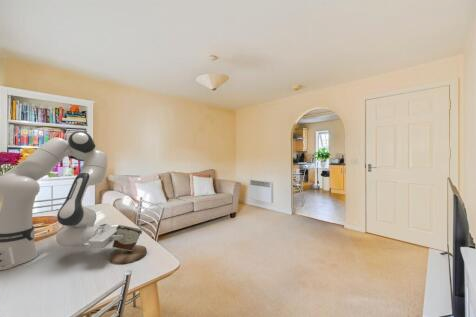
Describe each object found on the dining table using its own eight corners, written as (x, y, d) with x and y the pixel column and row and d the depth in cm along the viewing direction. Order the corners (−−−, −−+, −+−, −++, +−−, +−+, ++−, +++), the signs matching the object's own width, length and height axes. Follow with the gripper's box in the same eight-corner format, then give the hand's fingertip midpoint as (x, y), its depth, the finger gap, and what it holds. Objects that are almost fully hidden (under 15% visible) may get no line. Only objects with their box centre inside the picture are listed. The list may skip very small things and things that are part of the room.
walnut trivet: (106, 267, 94) (106, 263, 94) (111, 251, 108) (111, 248, 108) (146, 259, 100) (146, 256, 100) (146, 245, 115) (146, 242, 115)
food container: (139, 250, 108) (146, 230, 111) (135, 251, 102) (142, 229, 106) (114, 246, 108) (122, 225, 111) (109, 246, 102) (117, 224, 105)
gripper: (80, 238, 93) (113, 237, 94) (106, 222, 113) (133, 222, 114) (81, 253, 93) (114, 252, 94) (106, 234, 114) (133, 233, 114)
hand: (125, 235), depth 104 cm, fingers closed on food container
